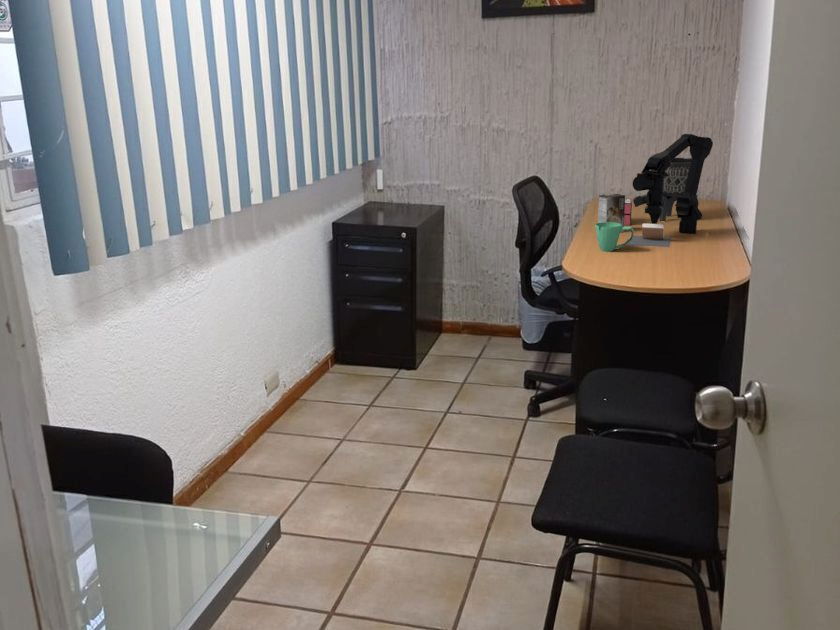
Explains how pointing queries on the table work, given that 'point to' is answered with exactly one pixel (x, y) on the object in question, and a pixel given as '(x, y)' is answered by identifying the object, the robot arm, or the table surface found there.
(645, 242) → the mat
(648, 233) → the tile
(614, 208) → the coffee box
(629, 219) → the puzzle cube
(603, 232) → the mug
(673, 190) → the planter
